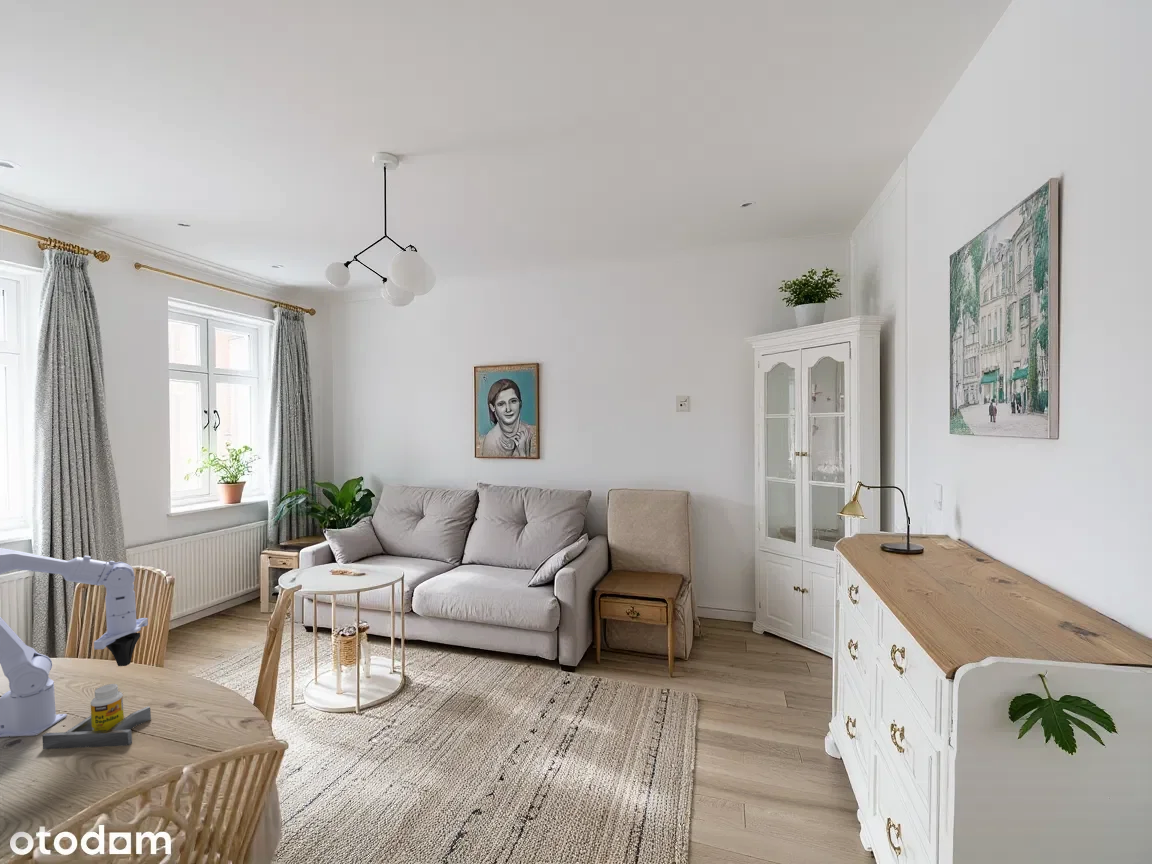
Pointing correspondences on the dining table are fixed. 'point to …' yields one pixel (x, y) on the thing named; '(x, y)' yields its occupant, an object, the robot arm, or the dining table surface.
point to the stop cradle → (97, 733)
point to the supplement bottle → (106, 708)
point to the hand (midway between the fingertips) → (124, 664)
